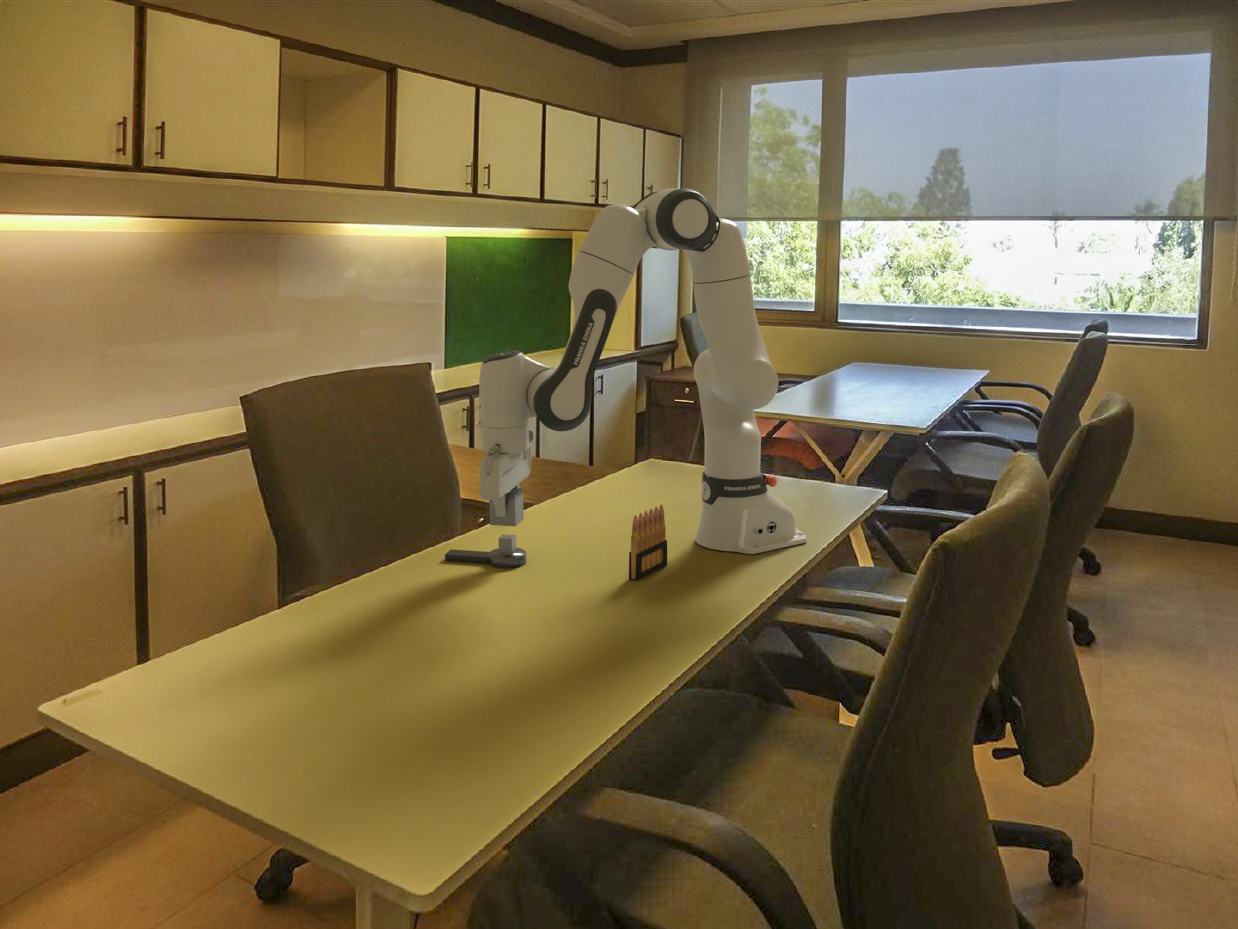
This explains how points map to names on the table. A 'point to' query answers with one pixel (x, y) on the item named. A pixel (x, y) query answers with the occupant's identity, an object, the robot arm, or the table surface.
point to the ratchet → (492, 555)
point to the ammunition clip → (648, 544)
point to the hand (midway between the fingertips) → (506, 511)
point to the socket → (509, 509)
